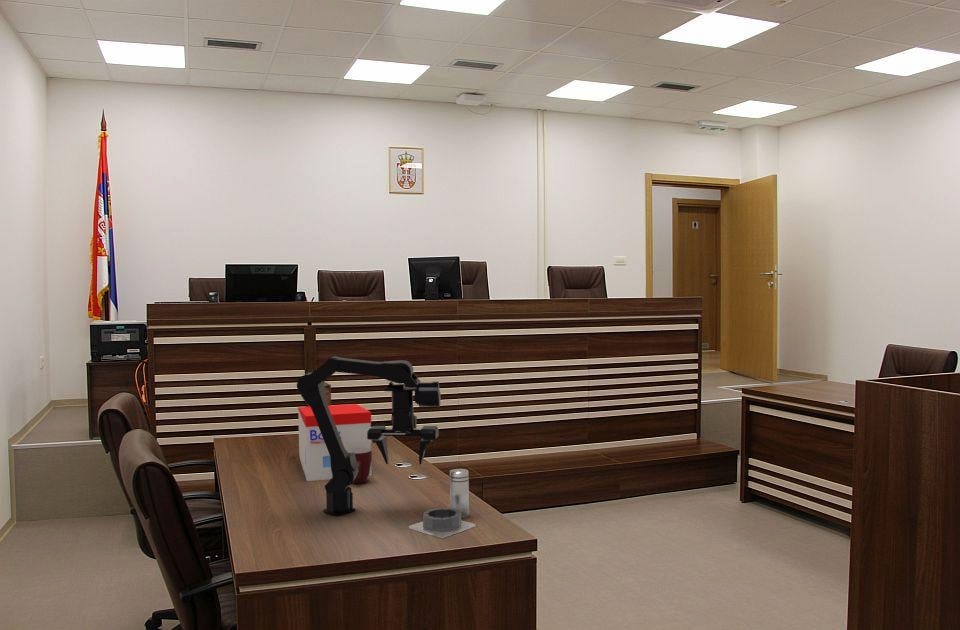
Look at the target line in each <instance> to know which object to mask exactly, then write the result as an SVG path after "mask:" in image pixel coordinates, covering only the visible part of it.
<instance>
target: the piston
mask: <svg viewBox="0 0 960 630" xmlns="http://www.w3.org/2000/svg"><path fill="white" fill-rule="evenodd" d="M469 480H470V478H469V470H468V469H466V468H453V469H450V470H449V508H452V509H456V510H459V511H460V512H461V519H465V518H468V517H469V516H470V497H469V496H470V493H469V491H470V487H469V486H470V485H469V484H470V483H469Z"/></svg>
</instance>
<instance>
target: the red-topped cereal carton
mask: <svg viewBox="0 0 960 630" xmlns="http://www.w3.org/2000/svg"><path fill="white" fill-rule="evenodd" d="M328 407H329V410H330V413H331V415H332V418H333V420H334V423H335V425H336V428H337V430H338V433H339V435H340V438H341V440H342V443H343V446H344V448H345V450H348V449H353V448H369V449H371V450H372V440H369V439H367V432H368V430H369V429H370V428H371V427H372V412H371V411H370V410H368V409H366V408H364V407H362V406H361V405H360V404H357V403H352V404H351V403H349V404H334V405H333V404H331V405H328ZM297 408H298V410H297V411H298V413H297V414H298V449H299V450H298V452H299V453H298V455H299V460H300V464H301V468H302V470H303V473H304V476H305V481H306V482H312V481H315V482H316V481H325V480H326V481H327V480H330V479H331V478H332V477H333V476H332V471H331V462H330V455H329V452H328V449H327V447H326V444H325V442H324V439H323V437H322V434H321V432H320V429H319V427H318V424H317V422H316V419H315V417H314V414H313V411H312V409H311V407H308V406H299V407H297ZM372 470H373V469H372V464H371V466H370V473H369V476H370V477H371V476H373V474H372V473H373V471H372ZM369 476H368V477H369Z"/></svg>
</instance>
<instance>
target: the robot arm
mask: <svg viewBox="0 0 960 630" xmlns="http://www.w3.org/2000/svg"><path fill="white" fill-rule="evenodd" d="M335 373H342V374H343V373H345V374H353V375H363V376H371V377H378V378H381V379H383V380H386V381H389V383H388V385H387V386H386V387H385V388H384V389H383V390H384V392H391V418H390V419H391V420H390V423H391V425H392V427H391V428H387V427H386V425H373V426H372V425H371V428H370V429H369V430H368V432H367V439H369V440H371V443H374V444H376V446H377V448H378V449H379V451H380V453H381V456H382V458H383V460H384V462H385V465H388V464H389V450H388V437H420V438H421V439H420V441H419V453H418V454H419V455H418V462H419V465H422V463H423V459H424V456H425V453H426V449H427V448H428V445H429V444H431V443H432V442H433V441H435V440H436V439H438V437H439V433H440V432H439V427H438V426H437V425H424V426H422V428H417V427H418V425H417V422H418V421H417V420H418V417H417V416H416V415H415V413H414V411H415V410H414V404H416V405H418V407H419V408H433V407H434V408H435V407H436V408H437V407H438V408H440V407H441V400H442V399H441V398H442V397H441V391H440V390H441V389H440V382H439V381H427V382H425V381H424V382H423V381H421V380H420V379H419V377H418V376H417V375H416V373H415V372H414V367H413V365H412V363H411V362H410V361H408V360H404V359H401V360H400V359H399V360H398V359H397V360H389V361H388V360H387V361H375V360H374V361H373V360H365V359H364V360H363V359H362V360H361V359H358V358H357V359H355V358H347V357H346V358H345V357H339V356H337V355H336V356H332V357H330V358H328V359H327V360H326V361H325V362H324V363H323V364H322V365H320V366H318V367H317V368H316V369H315V370H314V371H310V372H307V373H305V374H304V375H302V376H300V377H299V378H298V380H297V382H296V388H297V390H298V393H299V394H300V396H301V398H302V400H303V401H304V402H305V403H306V405H307V406H308V405H309V406H310V407H311V409H312V411H313V414H314V417H315V419H316V422H317V424H318V427H319V429H320V432H321V434H322V437H323V439H324V442H325V444H326V447H327V449H328V452H329V455H330V462H331V471H332V476H333V477H332V478H331V479H329V481H328V482H327V483H326V484H325V485H324V489H325V498H326V501H325V502H326V503H325V504H326V508H324V509H323V510H322V512H324V513H326V514H329V515H332V516H336V517H339V516H341V515H346V514H348V513H352V512H355V511H356V508H354V507H353V506H354V498H353V495H354V493H353V492H352V487H350V486H351V484H352V483H353V481H354V479H355V478H356V477H357V474H358V466H359V464H358V462H357V461H356V458H355V454H354V452H353V453H351V454H349V453H348V452H347V451H346V450H345V448H344V446H343V443H342V440H341V438H340V435H339V433H338V430H337V428H336V425H335V423H334V420H333V418H332V415H331V413H330V410H329V407H328V405H327V402H326V391H325V386H324V382H325V381H327V380H328V379H329V378H330V377H332V376H333V375H334V374H335ZM413 392H414V393H413Z"/></svg>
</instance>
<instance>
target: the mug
mask: <svg viewBox="0 0 960 630" xmlns="http://www.w3.org/2000/svg"><path fill="white" fill-rule="evenodd" d="M346 451H347V452H348V453H349V454H351V453H353V452H354V454H355V458H356V461H357V462H358V464H359V466H358V474H357V477H356V478H355V479H354V481H353V482H352V483H353V484H355V485H356V484H357V485H359V484H360V485H361V484H365V483H366V481H367V479H368V478H369V473H370V466H371V465H372V458H373V456H372V455H373V453H372V448H371V449H369V448H353V449H348V450H346Z"/></svg>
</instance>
